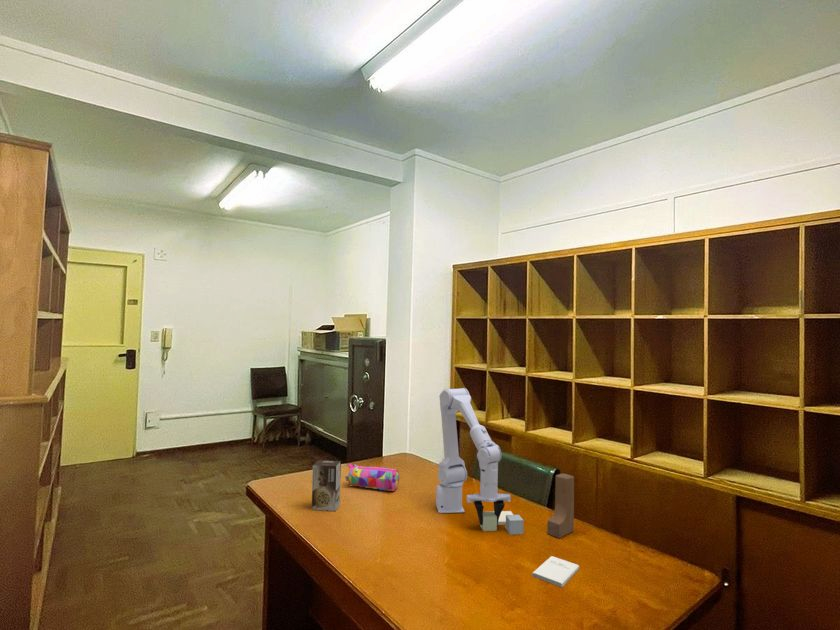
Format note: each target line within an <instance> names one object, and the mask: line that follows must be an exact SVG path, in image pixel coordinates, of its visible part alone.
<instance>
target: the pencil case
mask: <svg viewBox="0 0 840 630" xmlns="http://www.w3.org/2000/svg"><path fill="white" fill-rule="evenodd" d="M347 467H348V468H349V471H348V475H347V476H346V475H345V481H346V482H348V485H349V486H350V485H353V486H352V487H357V486H359V488H363V487H365V489H371V488H372V490H377V489H379V490H378V491H387V492H391V491H392V492H394V491H396V490H397V488H398V486H399V482H400V473H399V471H398V469H396V468H389V467H388V468H385V467H380V466H363V465H361V466H359V465H358V464H352V463H349V464H347Z"/></svg>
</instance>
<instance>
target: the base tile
mask: <svg viewBox="0 0 840 630" xmlns="http://www.w3.org/2000/svg"><path fill="white" fill-rule="evenodd" d="M491 511H492V510H491ZM491 511H490V510H489V511H485V512H491ZM493 512H494V510H493ZM506 515H515V514H514V513H513V512H512V510H505V511H504V510H502V512H501V514H500V517H499V520H498V525H497V526H499V525H506Z"/></svg>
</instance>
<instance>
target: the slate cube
mask: <svg viewBox="0 0 840 630" xmlns="http://www.w3.org/2000/svg"><path fill="white" fill-rule="evenodd" d="M524 524H525V523H524V519H523V518H522V517H521V515H520V514H514V515H506V524H505V530H506V531H507V533H508V534H509V535H523V534H524Z"/></svg>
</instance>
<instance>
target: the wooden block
mask: <svg viewBox="0 0 840 630" xmlns="http://www.w3.org/2000/svg"><path fill="white" fill-rule="evenodd" d="M554 491H555V493H554V495H555V497H554V498H555V500H554V501H555V503H554V505H555V506H554V510H553V511H554V512H553V514H552V516H551V517H549V518H548V519H547V524H546V525H547V528H546V530H547V531H546V532H547V534H548V535H551V536H552V537H555V538H557V539H560V538H562V537H564V536H565V537H566V536H567V535H568V534H570V533H573V532H574V531H575V529H574V527H575V526H574V525H575V522H574V521H575V520H574V518H575V477H574V475H571V474H567V473H559V474H556V475H555V490H554Z"/></svg>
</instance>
